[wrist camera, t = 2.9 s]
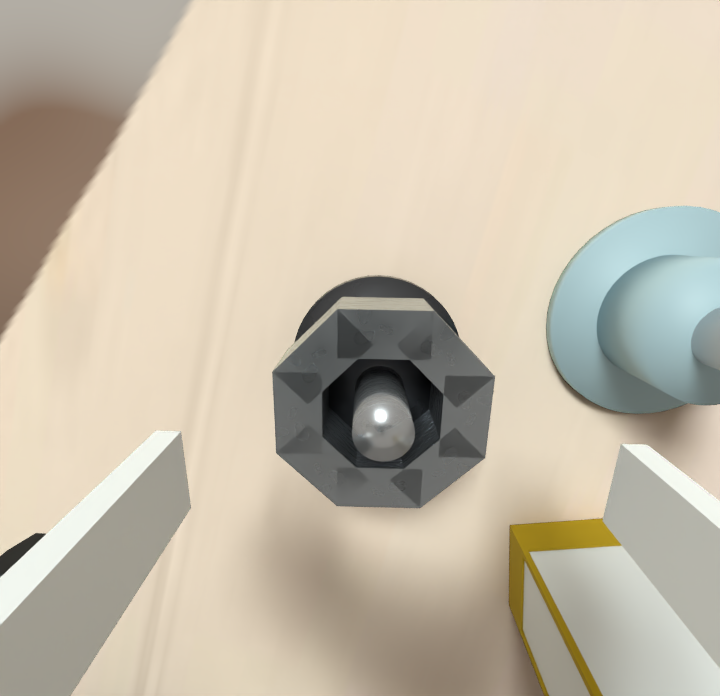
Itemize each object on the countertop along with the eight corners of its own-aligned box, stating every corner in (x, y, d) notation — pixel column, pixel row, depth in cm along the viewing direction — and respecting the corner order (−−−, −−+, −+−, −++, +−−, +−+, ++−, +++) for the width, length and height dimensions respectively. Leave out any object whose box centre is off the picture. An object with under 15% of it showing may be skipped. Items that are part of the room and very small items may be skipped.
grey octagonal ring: (291, 466, 20) (278, 504, 18) (284, 295, 18) (269, 307, 15) (462, 470, 20) (478, 509, 18) (480, 299, 18) (503, 312, 15)
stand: (297, 429, 25) (259, 538, 16) (292, 273, 23) (243, 301, 13) (451, 432, 25) (499, 544, 16) (465, 276, 23) (534, 306, 13)
